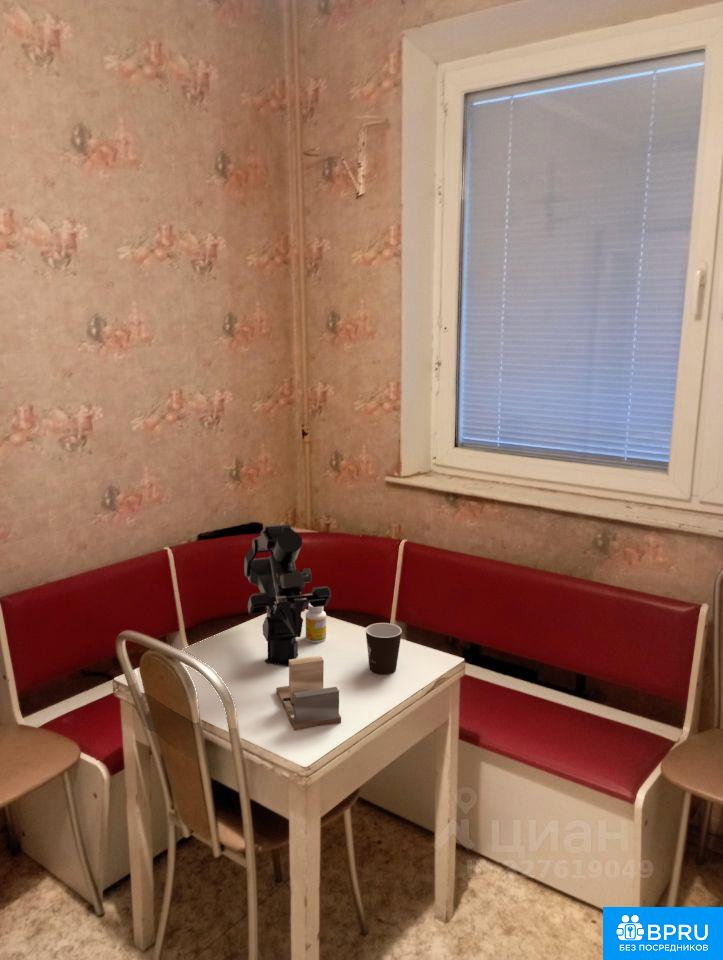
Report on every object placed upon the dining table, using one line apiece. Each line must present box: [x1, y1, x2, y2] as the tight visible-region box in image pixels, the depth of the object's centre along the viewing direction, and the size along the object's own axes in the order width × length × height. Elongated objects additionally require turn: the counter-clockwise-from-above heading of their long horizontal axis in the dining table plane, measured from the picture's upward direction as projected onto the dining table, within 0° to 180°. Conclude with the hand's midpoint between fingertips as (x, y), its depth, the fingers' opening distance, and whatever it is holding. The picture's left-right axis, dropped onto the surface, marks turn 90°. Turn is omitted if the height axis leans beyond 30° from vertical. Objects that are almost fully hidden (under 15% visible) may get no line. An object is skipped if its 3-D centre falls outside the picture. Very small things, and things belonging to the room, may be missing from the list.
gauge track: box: [275, 685, 342, 731], centre depth 154 cm, size 16×10×7 cm, turn 19°
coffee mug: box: [365, 622, 403, 676], centre depth 174 cm, size 12×9×10 cm
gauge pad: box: [283, 655, 325, 704], centre depth 155 cm, size 2×9×9 cm, turn 109°
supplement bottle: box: [305, 602, 327, 644], centre depth 189 cm, size 5×5×10 cm
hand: (296, 634), depth 162 cm, fingers closed
